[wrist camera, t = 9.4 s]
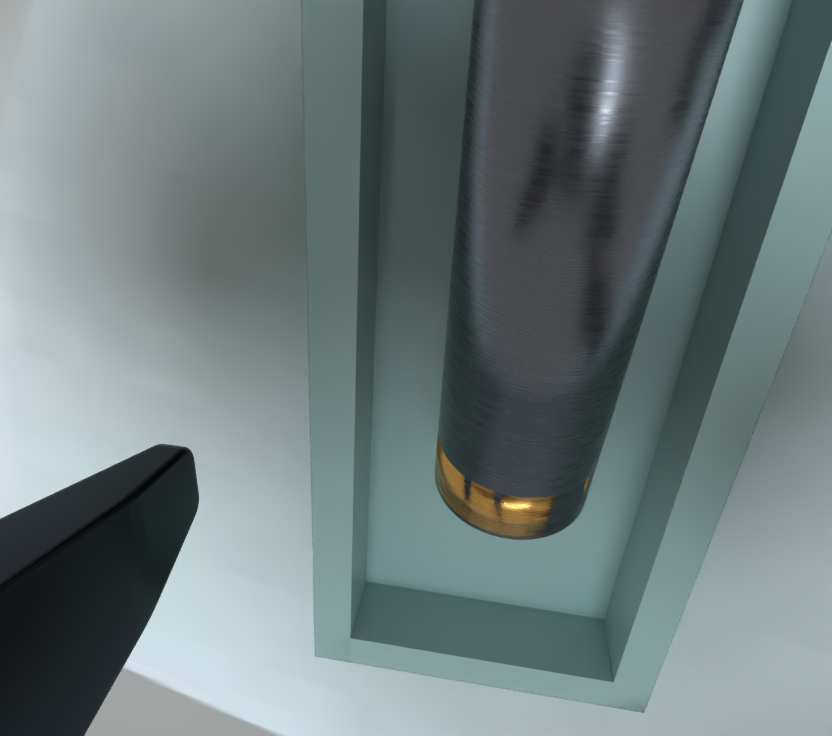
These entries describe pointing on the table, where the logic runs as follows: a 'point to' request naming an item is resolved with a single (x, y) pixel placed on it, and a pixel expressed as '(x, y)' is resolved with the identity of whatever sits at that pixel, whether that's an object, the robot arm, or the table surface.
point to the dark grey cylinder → (562, 237)
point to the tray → (642, 387)
